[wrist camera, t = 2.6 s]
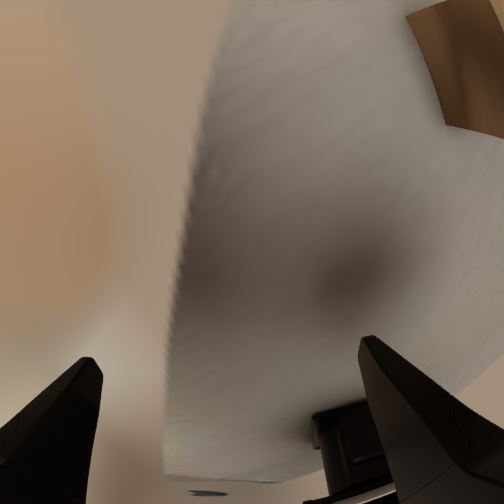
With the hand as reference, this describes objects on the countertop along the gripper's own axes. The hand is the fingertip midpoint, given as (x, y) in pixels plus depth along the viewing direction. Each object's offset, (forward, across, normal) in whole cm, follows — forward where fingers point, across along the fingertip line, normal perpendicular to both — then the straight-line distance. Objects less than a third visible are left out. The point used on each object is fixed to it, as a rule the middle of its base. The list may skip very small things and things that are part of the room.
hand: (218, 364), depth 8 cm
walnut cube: (+5, -12, -10) cm, 16 cm away
